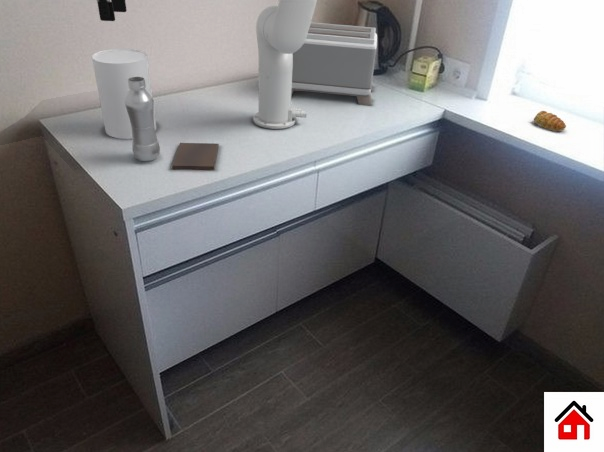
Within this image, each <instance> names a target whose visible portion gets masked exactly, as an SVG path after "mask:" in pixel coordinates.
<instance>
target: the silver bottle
mask: <svg viewBox="0 0 604 452" xmlns="http://www.w3.org/2000/svg"><path fill="white" fill-rule="evenodd" d="M128 84H129V85H128V87H129V89H130V91H129V92H128V94H127V96H126V98H125V106H126V109H127V112H128V116H129V119H130V123H131V128H132V138H133V139H132V142H131V143H132V144H131V149H132V150H131V151H132V153H133V157H134V158H136V159H137V160H138V161H140V162H151V161H154V160H157V158H159V156H160V153H161V146H160V142H159V140H158V137H157V132H156V130H155V127H154V112H155V106H154V105H155V101H154V97H153V98H152V96H153V95H152V96H151V95H150V94H149V92H148V91H147V90H146V89H145V87H146V84H145V79H144V78H143V77H131V78H129V79H128Z"/></svg>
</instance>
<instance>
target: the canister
mask: <svg viewBox="0 0 604 452" xmlns="http://www.w3.org/2000/svg"><path fill="white" fill-rule="evenodd" d="M91 60H92V66H93V70H94V76H95V83H96V86H97V92H98V99H99V103H100V108H101V114H102V120H103V123H104V124H103V125H104V130H105V133H106V135H108V136H109V137H112V138H115V139H123V140H133V138H132V128H131V123H130V119H129V116H128V112H127V109H126V106H125V98H126V96H127V94H128V92H129V91H130V89H129V87H128V85H129V84H128V79H129V78H131V77H143V78H144V79H145V84H146V87H145V89H146V90H147V91H148V92H149V94H150V95H151V96H152V98H153V99H154V96H153V88H152V79H151V73H150V72H151V71H150V64H149V55H148V53H147V52H146V51H143V50H141V49H135V48H124V47H123V48H122V47H121V48H120V47H119V48H109V49H104V50H100V51H97V52H95V53H93V54H92V55H91ZM154 127H155V131H156V130H157V120H156V112H155V111H154Z"/></svg>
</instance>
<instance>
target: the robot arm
mask: <svg viewBox="0 0 604 452" xmlns="http://www.w3.org/2000/svg"><path fill="white" fill-rule="evenodd" d="M317 2H318V0H278V5H270V6H268V7H265V8H264V9H263V10H262V11H261V12H260V13H259V15H258V16H257V20H256V26H255V31H256V41H257V52H258V112H256V113H255V114H254V115H253V117H252V121H253V123H254V124H255V125H256V126H258V127H260V128H265V129H269V130H283V129H286V128H291V127H293V126H294V125H295V124H296V123H297V122H296V121H297V120H296V119H297V118H301V119H302V118H303V119H306V118H307V110H303V109H302V108H294V107H293V104H292V95H291V93H292V70H293V53H294V52H296V51H298V50H299V49H300V48H301V47H302V45H303V44H304V42H305V40H306V37H307V34H308V31H309V27H310V24H311V22H312V20H313V17H314V14H315V10H316V6H317ZM96 3H97V9H98V14H99V20H100V21H103V22H115V21H116V14H115V13H126V12H127V4H126V0H96ZM292 94H293V93H292Z"/></svg>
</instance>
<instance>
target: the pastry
mask: <svg viewBox="0 0 604 452" xmlns="http://www.w3.org/2000/svg"><path fill="white" fill-rule="evenodd" d="M533 122H534V124H535V125H539V127H541V128H544V129H546V130H549V131H555V132H561V131H564V130H565V129H566V128H567V125H566V123H565V121H564V120H563V119H562V118H560V117H558V115H557V114H553V113H552V112H547V111H546V110H541V111H539V112H538V113H536V115H535V116H534V118H533Z"/></svg>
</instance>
